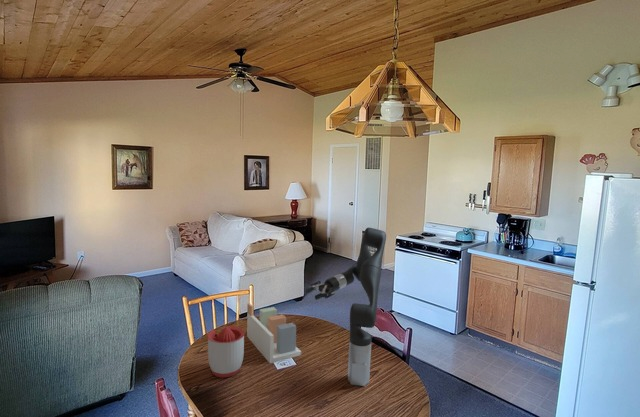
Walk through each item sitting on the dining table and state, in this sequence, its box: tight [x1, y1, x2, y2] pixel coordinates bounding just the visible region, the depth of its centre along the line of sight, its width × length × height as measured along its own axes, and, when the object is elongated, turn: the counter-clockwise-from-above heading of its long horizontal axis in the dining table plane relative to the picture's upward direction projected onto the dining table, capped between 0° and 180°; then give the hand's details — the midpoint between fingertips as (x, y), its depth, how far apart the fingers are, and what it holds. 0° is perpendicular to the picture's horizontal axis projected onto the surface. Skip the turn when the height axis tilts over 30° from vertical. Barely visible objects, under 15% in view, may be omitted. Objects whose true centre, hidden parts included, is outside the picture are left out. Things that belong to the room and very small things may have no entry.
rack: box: [246, 302, 302, 364], centre depth 186 cm, size 16×30×18 cm, turn 31°
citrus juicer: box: [207, 325, 246, 379], centre depth 163 cm, size 16×17×20 cm
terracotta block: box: [268, 314, 287, 343], centre depth 187 cm, size 8×4×12 cm, turn 121°
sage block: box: [258, 306, 278, 329], centre depth 197 cm, size 8×4×12 cm, turn 121°
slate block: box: [277, 322, 297, 354], centre depth 178 cm, size 8×4×12 cm, turn 121°
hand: (310, 294), depth 191 cm, fingers open, 8 cm apart
